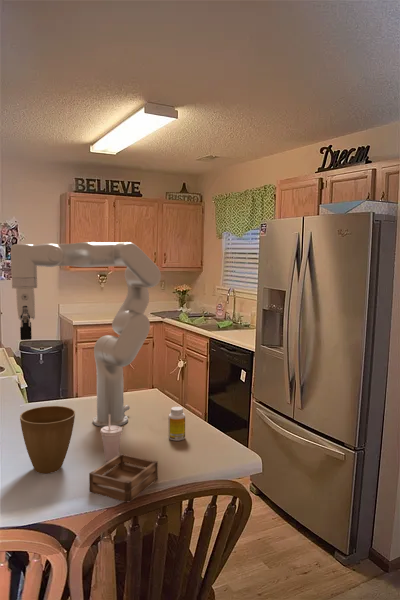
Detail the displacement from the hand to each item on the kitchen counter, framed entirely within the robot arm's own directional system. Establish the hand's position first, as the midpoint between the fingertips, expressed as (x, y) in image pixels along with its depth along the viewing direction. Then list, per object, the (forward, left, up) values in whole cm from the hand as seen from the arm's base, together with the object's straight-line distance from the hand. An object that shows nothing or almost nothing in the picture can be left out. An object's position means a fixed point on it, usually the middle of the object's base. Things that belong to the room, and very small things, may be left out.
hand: (26, 337), depth 152 cm
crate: (+11, +45, -34) cm, 57 cm away
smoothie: (0, +33, -35) cm, 47 cm away
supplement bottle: (-24, +42, -35) cm, 59 cm away
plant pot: (+12, +20, -35) cm, 42 cm away
